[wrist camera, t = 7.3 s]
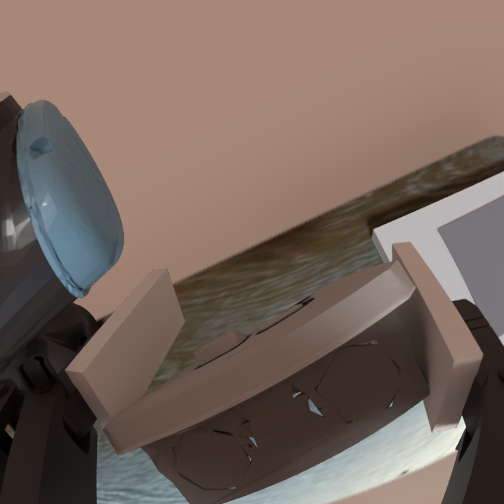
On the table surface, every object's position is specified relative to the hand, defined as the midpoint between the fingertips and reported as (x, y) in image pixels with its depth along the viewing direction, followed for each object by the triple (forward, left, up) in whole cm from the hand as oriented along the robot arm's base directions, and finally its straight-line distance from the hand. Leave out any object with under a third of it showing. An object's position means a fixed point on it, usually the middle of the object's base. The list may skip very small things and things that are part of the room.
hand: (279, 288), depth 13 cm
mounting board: (+16, +11, -16) cm, 25 cm away
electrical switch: (+1, -3, -4) cm, 5 cm away
